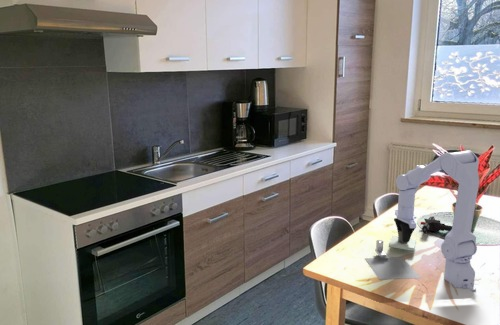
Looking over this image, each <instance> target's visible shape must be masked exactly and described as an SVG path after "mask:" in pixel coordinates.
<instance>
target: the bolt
mask: <svg viewBox="0 0 500 325" xmlns="http://www.w3.org/2000/svg"><path fill="white" fill-rule="evenodd" d="M375 245H376V247H375V250H374V251H375V253H376V254H377V255H379V256H380V258H382V257H386V256H387V254H386V253H385V251H383V250H384V240H382V239H381V240H380V239H378V240H376V244H375Z"/></svg>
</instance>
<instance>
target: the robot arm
mask: <svg viewBox="0 0 500 325" xmlns="http://www.w3.org/2000/svg"><path fill="white" fill-rule="evenodd" d="M479 163H480V159H479V158H478V156H477V155H476V154H475V153H474V151H472V150H470V149H469V150H464V151H455V152H446V153H443V154H441V155H439V156H438V157H437V158H435V159H434V160H432V161H431V162H430V163H428V164H427V165H420V164H417V165H415V166H414V169H412V170H407V173H405V174H399V175H398V176H397V177H396V179H395V185H396V187H397V189H398V199H397V200H398V201H397V202H398V203H397V209H395V210H394V212H395V213H394V215H395V216H396V217H395V218H394V219H393V220H394V222H395V226H396V228H397V229H396V230H397V233H398V232H399V231H400V230H402V238H403V242H409V240H410V239H411V237H412V234H413V232H414V231H415V229H416V228H417V223H416V222H415V221H416V220H415V219H417V216H416V215H415V213H414V212H415V199H416V194H417V192H418V188H419V187H420V185H422V184H423V183H425V182H427V181H429V180H430V179H431V177H432V175H433V174H435V173H437V172H440V171H444V172H445V173H446V174H447V175H448V176H449V177H450V178H451V179H453V181H455V182H457V183H458V188H457V193H456V200H455V206H454V213H453V221H452V225H451V226H452V230H451V231H448V232H447V234H446V235H445V237H444V240H443V242H442V243H441V245H440V250H441V253H442V255H443V257H444V259H445V266H444V273H443V274H444V277H443V278H444V280H445V281H446V282H448V283H449V284H451V285H452V286H453V287H454V288H455V289H460V288H461V289H463V288H464V289H469V290H470V291H477V289H476V287H475V277H476V271H475V269H474V268H473V266H472V265H471V260H472V259H473V256H475V255H476V253H477V251H478V247H477V246H478V245H477V243H476V242H477V241H476V240H477V236H476V235H475V234H474V233H473V232H472V229H473V228H472V226H473V222H474V221H473V219H474V214H475V210H476V209H475V208H476V203H477V197H478V192H479V185H480V177H479V176H480V175H479Z"/></svg>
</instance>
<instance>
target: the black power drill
mask: <svg viewBox="0 0 500 325" xmlns="http://www.w3.org/2000/svg"><path fill="white" fill-rule="evenodd" d="M423 220H424V221H421V222H420V225H423V226H422V228H421V231H422V234H426V233H428V231H430V232H433V231H434V232H435V233H439V232H440V231H443V232H444V231H446V232H450V231H451V230H452V225H448V224H447V225H446V224H445V223H442V222H441V220H440V219H435V216H429V218H423Z"/></svg>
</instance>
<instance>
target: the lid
mask: <svg viewBox="0 0 500 325" xmlns="http://www.w3.org/2000/svg"><path fill="white" fill-rule="evenodd" d="M397 235H398V236H395V235H392V236H391V238H390V241H389V243H388V247H389V248H395V249H401V250H407V251H413V252H414V251H415V248H416V245H417V239H415V238H410V240H409V242H403V238H402V230H400V231H399V232H398V231H397Z"/></svg>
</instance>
